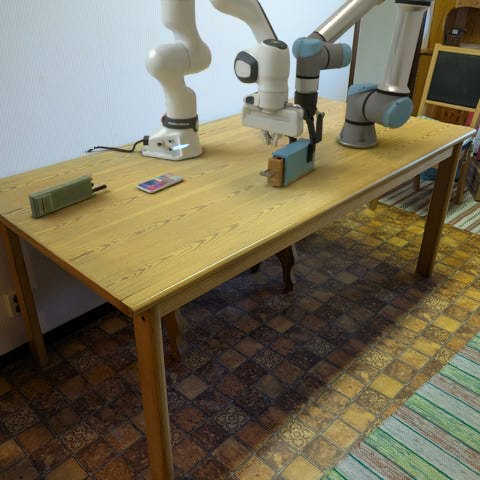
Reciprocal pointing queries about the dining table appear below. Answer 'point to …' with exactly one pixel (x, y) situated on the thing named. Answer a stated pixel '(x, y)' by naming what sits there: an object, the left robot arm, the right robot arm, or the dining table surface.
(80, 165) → the dining table surface
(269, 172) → the drawer
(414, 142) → the dining table surface
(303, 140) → the tall blue open box
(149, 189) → the smartphone
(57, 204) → the handheld radio
